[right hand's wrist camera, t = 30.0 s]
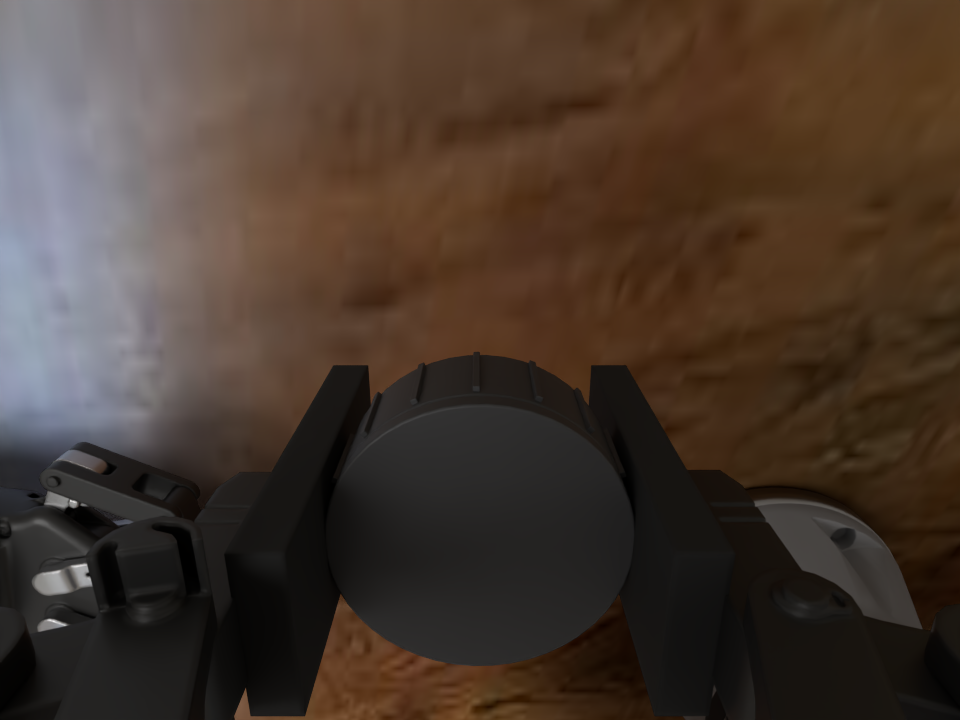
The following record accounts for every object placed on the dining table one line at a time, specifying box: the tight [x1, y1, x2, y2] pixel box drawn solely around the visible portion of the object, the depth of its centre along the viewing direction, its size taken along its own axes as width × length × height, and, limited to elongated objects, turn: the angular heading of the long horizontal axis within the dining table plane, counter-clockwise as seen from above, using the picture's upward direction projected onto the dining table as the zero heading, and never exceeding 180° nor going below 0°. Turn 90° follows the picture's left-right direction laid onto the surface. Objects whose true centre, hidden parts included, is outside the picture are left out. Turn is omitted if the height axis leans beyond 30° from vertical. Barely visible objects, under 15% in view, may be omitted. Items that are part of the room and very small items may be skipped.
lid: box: [325, 352, 635, 666], centre depth 11 cm, size 5×5×2 cm
